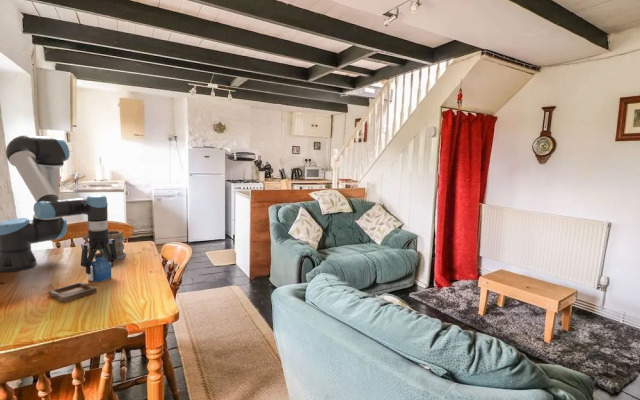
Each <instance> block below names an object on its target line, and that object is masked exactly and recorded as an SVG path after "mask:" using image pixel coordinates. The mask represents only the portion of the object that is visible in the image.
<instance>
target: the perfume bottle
mask: <svg viewBox="0 0 640 400" xmlns="http://www.w3.org/2000/svg"><path fill="white" fill-rule="evenodd" d="M103 258H104V256H103V253H100V252H96V253H95V258H94V260H93V261H92V264H91V266H92V267H93V281H92V282H96V283H97V282H98V283H102V282H104V281H106V280H108V279H111V278H112V275H111V274H112V268H111V264H110V263H109V262H108V261H107V260H103Z"/></svg>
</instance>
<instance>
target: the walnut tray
mask: <svg viewBox="0 0 640 400" xmlns="http://www.w3.org/2000/svg"><path fill="white" fill-rule="evenodd" d="M97 290H98V288H97V287H95V286H92V285H90V284H89V283H86V282H83V281H78V282H75V283H70V284H68V285H65V286H60V287H58V288H54V289H50V290H48V296H50V297H51V298H53V299H54V300H57V301H59V302H61V303H63V304H65V303H68V302H71V300H72V301H75V300H78V299H80V298H84V297H88V296H91V295H93V294H96V293H97V292H98V291H97Z"/></svg>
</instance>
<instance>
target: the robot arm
mask: <svg viewBox="0 0 640 400" xmlns="http://www.w3.org/2000/svg"><path fill="white" fill-rule="evenodd" d="M5 155H6V158H7V160H8V162H9V164H10V165H11V166H13V167H15V169H16V170H17V172H18V174H19V175H20V177H21V179H22V180H23V182H24V184H25V185H26V187H27V189H28V190H29V192H30V194H31V195H32V197H33V199H34V200H35V203H34V205H33V212H34V214H33V216H32V219H31V220H30V219H29V218H27V217H20V218H12V219H8V220H5V221H1V222H0V272H1V273H11V272H18V271H25V270H28V269H31V268H34V267H35V266H37V264H38V263H37V258H36V256H35V255H34V253H33V251H32V244H37V243H42V242H48V241H55V240H59V239H62V238H64V236H65V235H66V234H67V231H68V223H67V219H66V218H65V217H71V216H80V215H86V216H87V229H88V231H87V232H88V234H87V235H88V236H89V238H88V242H87V243H85V244H83V243H82V244H80V247H81V257H80V266H81V267H83V268H85V273H86V274H87V280H88V281H89V282H90V281H91V282H94V281H93V267H92V266H91V264H92V261H94V260H95V258H94V256H95V254H96V253H98V252H97V251H98V250H99V249H102V250H103V252H104V254H105V256H106V257H107V259H108V262H109V263H110V264H111V269H112V268H113V267H114V262H115V261H116V260H115V259H117V255H116V249H115V240H114V239H108V231H109V230H108V227H109V222H108V220H109V219H108V217H109V216H108V214H109V213H108V198H107V196H105V195H103V194H101V195H99V194H94V195H93V194H92V195H88V196H87V197H84V196H77V197H75V198H68V199H65V198H64V199H60V176H61V175H60V174H61V173H60V170H61V169H60V168H62V167H63V166H64V163H65V162H66V161H68V160H69V158H70V147H69V145H68V144H67V142H66V141H65V140H64V139H63V138H62V137H55V136H45V135H43V136H41V135H28V134H26V135H25V134H24V135H19V136H16V137H14V138H13V139H12V140H11V141H9V142H8V143H7V146H6V148H5ZM107 243H109V247H110V252H111V254H110V252H109V250H108V247H107ZM89 246H90V247H91V248H90V253H89V254H88V248H89ZM111 276H113V275H112V273H111Z"/></svg>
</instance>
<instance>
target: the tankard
mask: <svg viewBox="0 0 640 400" xmlns="http://www.w3.org/2000/svg"><path fill="white" fill-rule="evenodd" d="M82 239H83V240H84V241H86V240H89V236H88V234H85V235H84V236H83V237H82ZM108 239H114V240H115V249H116V255H117V259H115V260H114V261H117V260H118V261H119V260H122V259H123V258H125V257H126V256H127V253H126V252H124V249H125V244H124V243H123V242H124V240H125V236H124V235H123V231H120V230H108ZM107 247H108V250H109V252H110V247H109V243H107ZM90 248H91V247H90V246H89V248H88V255H89V253H90ZM97 251H98V252H99V253H103V256H104V258H103V260H107V261H108V259H107V257H106V256H105V254H104V252H103V250H102V249H99V250H97ZM110 254H111V252H110ZM94 259H95V256H94Z"/></svg>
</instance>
